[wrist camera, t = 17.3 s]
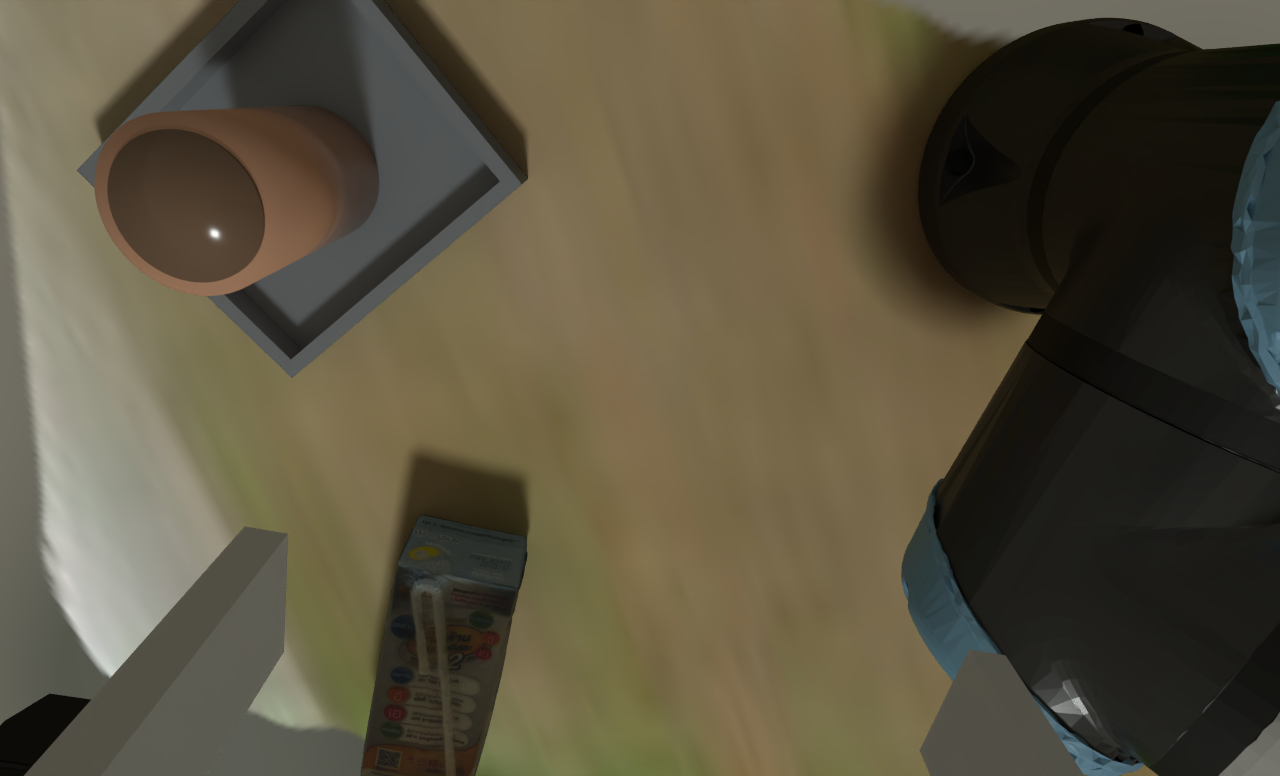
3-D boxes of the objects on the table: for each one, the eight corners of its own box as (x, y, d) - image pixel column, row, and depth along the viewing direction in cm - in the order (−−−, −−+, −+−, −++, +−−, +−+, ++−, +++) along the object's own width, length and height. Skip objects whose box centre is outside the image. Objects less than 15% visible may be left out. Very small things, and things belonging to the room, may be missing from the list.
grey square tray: (528, 178, 40) (521, 184, 38) (309, 362, 44) (291, 377, 42) (331, -64, 36) (311, -74, 34) (108, 165, 40) (76, 170, 38)
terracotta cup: (406, 185, 40) (316, 224, 28) (317, 264, 41) (198, 330, 30) (309, 75, 38) (170, 70, 26) (220, 162, 39) (52, 192, 28)
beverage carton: (536, 534, 49) (522, 596, 43) (484, 737, 56) (467, 816, 50) (419, 508, 49) (388, 568, 42) (381, 717, 56) (350, 795, 50)
